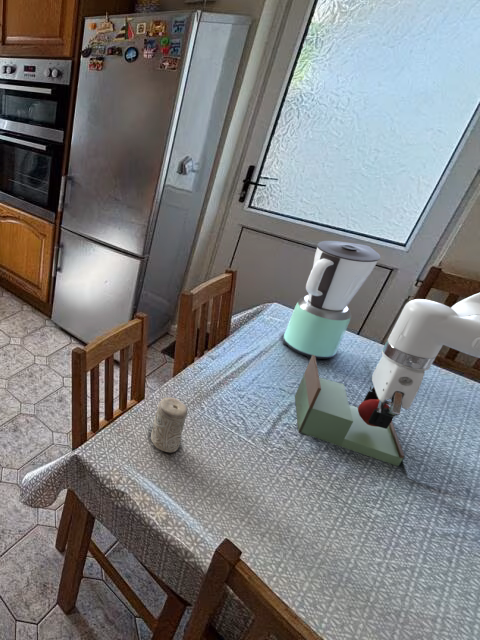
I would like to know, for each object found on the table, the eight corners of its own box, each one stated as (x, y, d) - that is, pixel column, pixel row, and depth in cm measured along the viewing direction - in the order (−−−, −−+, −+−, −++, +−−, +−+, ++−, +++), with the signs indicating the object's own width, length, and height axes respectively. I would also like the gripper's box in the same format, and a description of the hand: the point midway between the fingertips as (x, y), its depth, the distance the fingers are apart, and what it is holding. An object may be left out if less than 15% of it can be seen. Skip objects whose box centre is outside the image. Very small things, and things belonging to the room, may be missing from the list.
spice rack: (384, 424, 102) (408, 380, 96) (398, 466, 91) (427, 420, 85) (294, 396, 111) (312, 354, 105) (298, 431, 100) (318, 387, 94)
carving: (179, 437, 99) (190, 399, 94) (177, 461, 93) (188, 422, 88) (151, 427, 102) (160, 390, 97) (147, 450, 96) (156, 412, 91)
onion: (391, 431, 96) (406, 405, 92) (374, 437, 94) (389, 411, 91) (363, 412, 101) (377, 387, 97) (346, 418, 99) (359, 393, 96)
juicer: (302, 331, 137) (341, 234, 122) (348, 355, 126) (397, 251, 111) (262, 344, 131) (298, 244, 116) (306, 370, 120) (352, 263, 105)
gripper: (445, 384, 80) (405, 449, 88) (420, 339, 93) (386, 399, 101) (393, 370, 84) (359, 434, 92) (376, 329, 97) (347, 387, 105)
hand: (374, 415), depth 96 cm, fingers closed on onion, 5 cm apart
